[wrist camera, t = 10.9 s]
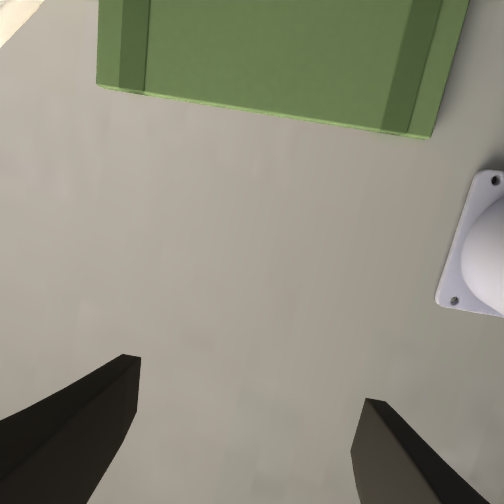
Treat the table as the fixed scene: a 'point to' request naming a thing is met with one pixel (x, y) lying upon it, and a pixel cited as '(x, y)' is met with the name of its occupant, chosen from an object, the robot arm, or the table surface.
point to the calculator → (15, 16)
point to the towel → (288, 57)
